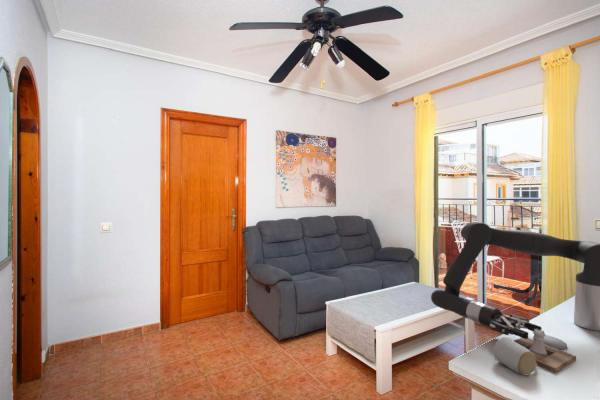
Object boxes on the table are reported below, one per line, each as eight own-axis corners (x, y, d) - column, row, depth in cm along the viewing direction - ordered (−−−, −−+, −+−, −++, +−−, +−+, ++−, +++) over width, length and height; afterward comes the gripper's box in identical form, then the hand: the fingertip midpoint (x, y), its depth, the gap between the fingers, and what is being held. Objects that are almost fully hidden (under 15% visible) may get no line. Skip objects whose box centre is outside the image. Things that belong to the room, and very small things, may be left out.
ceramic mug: (519, 379, 82) (521, 352, 82) (492, 362, 90) (493, 337, 90) (545, 373, 85) (547, 347, 85) (516, 357, 93) (518, 333, 93)
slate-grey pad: (540, 334, 109) (540, 332, 109) (571, 345, 101) (571, 343, 101) (528, 339, 105) (528, 337, 105) (559, 352, 97) (560, 349, 97)
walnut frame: (524, 340, 104) (524, 336, 104) (575, 360, 92) (576, 356, 92) (502, 349, 98) (502, 345, 98) (555, 372, 85) (555, 368, 85)
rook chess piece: (526, 352, 96) (527, 328, 96) (534, 350, 98) (535, 326, 97) (541, 360, 92) (543, 334, 92) (550, 357, 94) (551, 332, 93)
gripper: (472, 307, 106) (523, 326, 92) (494, 301, 113) (545, 317, 99) (471, 328, 107) (522, 349, 92) (493, 320, 113) (544, 339, 99)
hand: (534, 333), depth 96 cm, fingers open, 8 cm apart
